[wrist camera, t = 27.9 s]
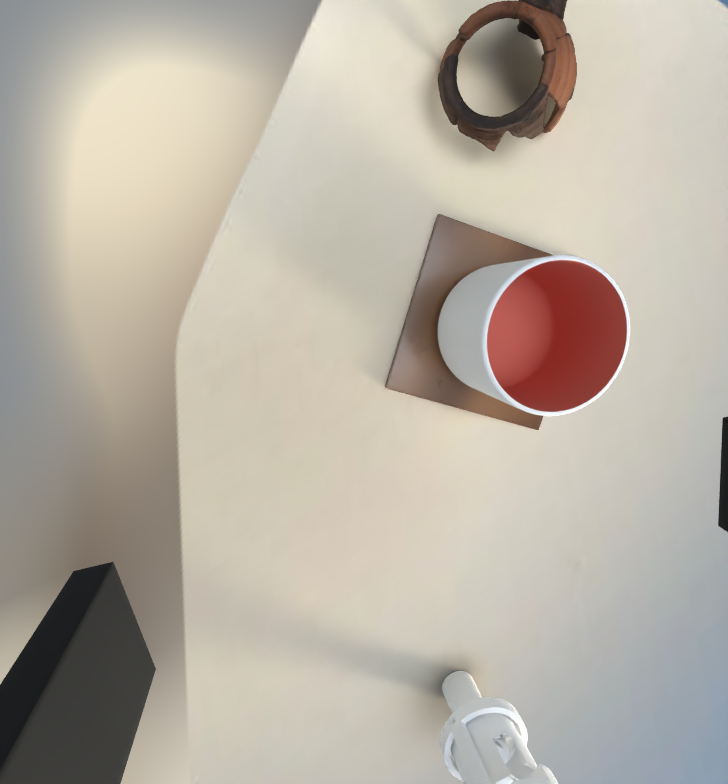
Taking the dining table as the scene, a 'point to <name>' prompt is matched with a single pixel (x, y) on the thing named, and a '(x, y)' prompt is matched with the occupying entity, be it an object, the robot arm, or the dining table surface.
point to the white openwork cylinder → (486, 738)
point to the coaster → (420, 332)
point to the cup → (536, 333)
